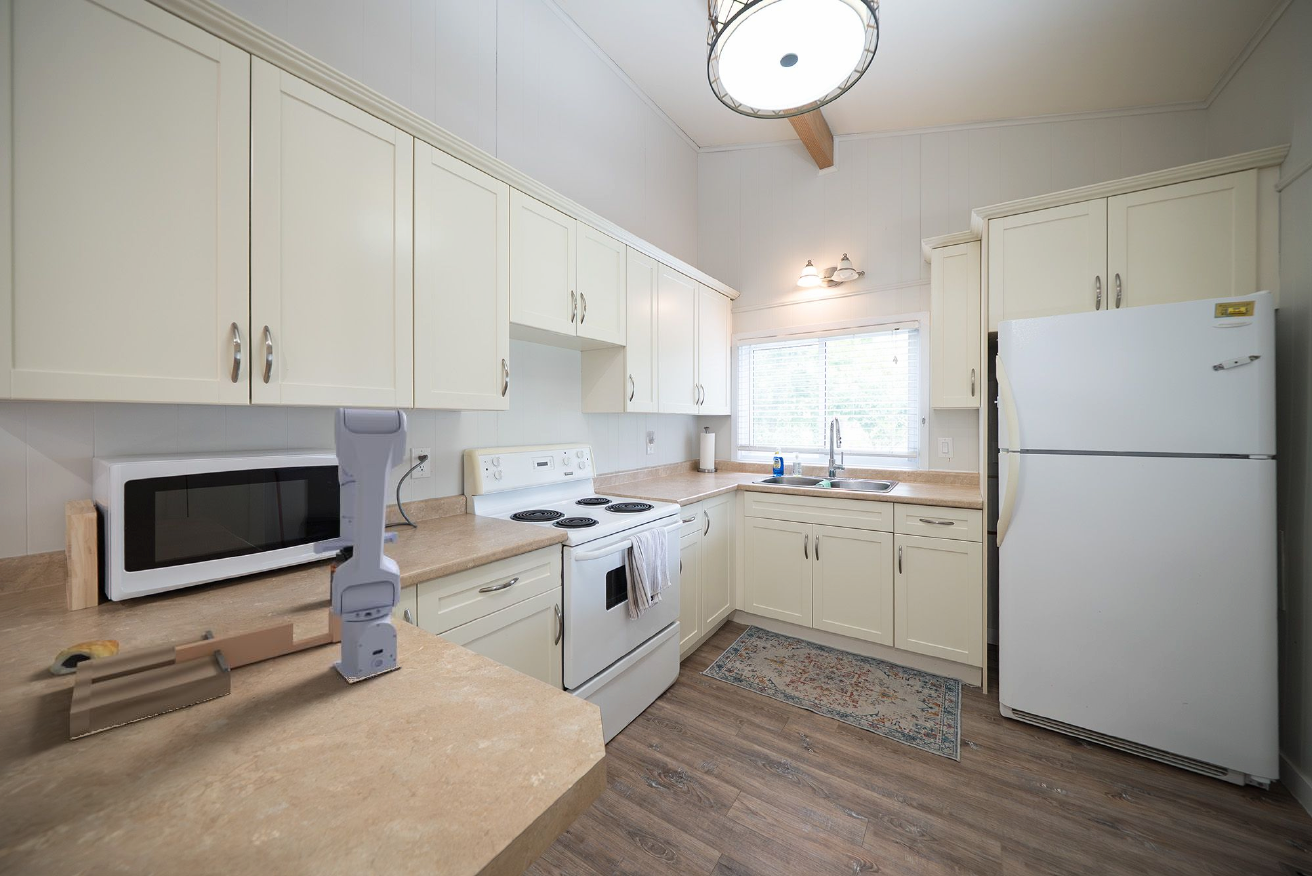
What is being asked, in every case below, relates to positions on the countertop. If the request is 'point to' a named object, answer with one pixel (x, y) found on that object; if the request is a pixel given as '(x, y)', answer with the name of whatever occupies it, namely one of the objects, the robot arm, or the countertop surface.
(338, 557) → the supplement bottle
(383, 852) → the countertop surface
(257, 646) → the stepped wooden plank
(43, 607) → the countertop surface
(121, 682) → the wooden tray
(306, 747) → the countertop surface
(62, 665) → the pastry
